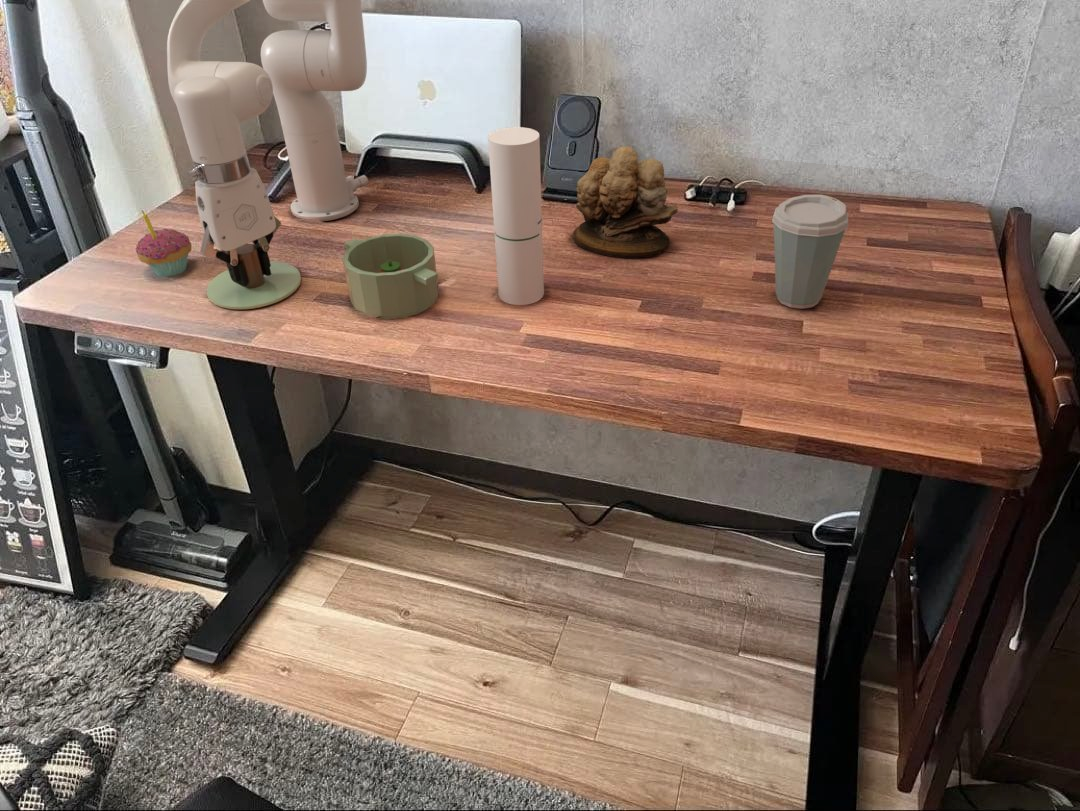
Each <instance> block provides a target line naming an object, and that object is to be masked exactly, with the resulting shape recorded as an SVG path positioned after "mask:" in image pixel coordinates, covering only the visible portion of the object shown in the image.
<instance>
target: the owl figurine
mask: <svg viewBox="0 0 1080 811" xmlns="http://www.w3.org/2000/svg"><path fill="white" fill-rule="evenodd" d="M588 168H589V169H588V170H587V171H586V173H585V174H584V175H582V176H581V177H580V178H579V179H578V181H577V183H576V184H577V188H576V192H577V194H576V196H577V203H576V204H575V206H576V209H577V211H579V213H581V214H582V217H583V219H584V221H583V222H582V223H580V225H579V226H578V227H576V228H575V229H574V231H573V234H572V239H573V242H574V243H575V245H576V246H578V247H579V248H581V249H583V250H586V251H588V252H591V253H594V254H598V255H603V256H608V257H614V258H621V259H622V258H623V259H624V258H625V259H640V258H648V257H653V256H656V255H659V254H660V253H664V252H665V250H666V249H667V248H668V247H669V245H670V243H671V240H670V237H669V236H668V235H667V234H666V233H665V232H664V231H663V230H662V229H661V228H659V227H658V225H666V224H668V223H669V222H670V221H671V220H672V216H674V215H676V214H677V212H678V211H679V207H678V205H676V204H675V205H674V204H673V205H669V206H668V205H667V204H666V202H667V199H668V198H667V197H668V196H667V194H668V189H667V187H666V182H665V168H664V164H663V163H662V161H660V160H658V159H655V158H647V159H643V160H641V161H640V162H639V156H638V152H637V151H636V150H635V149H634V148H633V146H628V145H623V146H619V147H617V149H615V151H613V153H612V156H611V158H608V157H605V156H600V157H597V158H595V159H593V161H592V162H591V164H590V166H589V167H588ZM656 225H657V226H656Z"/></svg>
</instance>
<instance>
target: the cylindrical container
mask: <svg viewBox="0 0 1080 811" xmlns="http://www.w3.org/2000/svg"><path fill="white" fill-rule="evenodd" d="M487 142H488V157H489V171H490V172H489V174H490V187H491V189H490V190H491V202H492V217H493V232H494V246H495V248H494V249H495V262H496V280H497V292H498V293H497V294H498V298H499V300H501V301H502V302H504V303H506V304H508V305H513V306H527V305H531V304H534V303H535V304H536V302H539V301H540V300H541V299H542V298H544V295H545V279H544V249H543V248H544V247H543V246H544V245H543V218H542V217H543V216H542V214H543V212H542V211H543V210H542V180H541V179H542V178H541V176H542V175H541V146H540V142H541V141H540V132H538V130H536V129H533V128H529V127H523V126H510V127H509V126H508V127H502V128H499V129H496V130H493V131H491V132H490V133H489V134H488V135H487Z"/></svg>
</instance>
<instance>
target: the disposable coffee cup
mask: <svg viewBox="0 0 1080 811" xmlns="http://www.w3.org/2000/svg"><path fill="white" fill-rule="evenodd" d="M771 222H772V223H773V239H774V240H773V244H774V245H773V246H774V248H773V249H774V281H775V282H774V284H775V285H774V286H775V287H774V288H775V296H776V299H777V301H778V302H779V303H780V304H781V305H783V306H786V307H789V308H791V309H801V310H803V309H810V308H814V307H815V306H817V305H818V304H819V302H820V301H821V300H822V297H823V294H824V292H825V289H826V286H827V283H828V280H829V278H830V275H831V271H832V269H833V266H834V263H835V260H836V258H837V254H838V251H839V249H840V246H841V242H842V240H843V237H844V234H845V232H846V230H847V229H848V228H849V213H848V212H847V205H846V204H845V203H843V202H842V201H841V200H839V199H838V198H835V197H832V196H829V195H825V194H803V195H802V194H801V195H798V196H793V197H789V198H788V199H786V200H784V201H783V202H781V203H779V204H778V206H777V207H776V208H775V209H774V213H773V216H772V220H771Z"/></svg>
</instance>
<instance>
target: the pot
mask: <svg viewBox="0 0 1080 811" xmlns="http://www.w3.org/2000/svg"><path fill="white" fill-rule="evenodd" d="M343 246H344V250H345V251H344V252H343V258H342V265H343V270H344V276H345V282H346V287H347V291H348V297H349V301H350V303H351V304H352V307H354V309H356V310H357V311H360V312H361V313H364V314H366V315H371V316H375V319H376V320H377V319H378V320H396V319H398V320H399V319H402V318H403V319H404V318H407V317H412V316H415V315H418V314H420V313H422V312H424V311H426V310H428V309H430V307H432V306H433V305H434V304H435V303H436V301H437V300H438V297H439V282H438V280H439V273H438V271H437V264H436V254H435V247H434V245H432V244H431V242H429V240H427V239H426V238H423V237H422V236H421V237H420V236H418V235H414V234H407V233H388V234H387V233H385V234H379V235H373V236H370V237H367V238H364V239H359V238H357V237H355V238H352V239H350V240H347V241H345V242H343ZM388 260H391V261H396V262H399V263H400V266H401V268H402V269H403V270H400V271H396V272H387V273H379V272H380V271H381V265H382V264H383V263H385V262H388Z"/></svg>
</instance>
